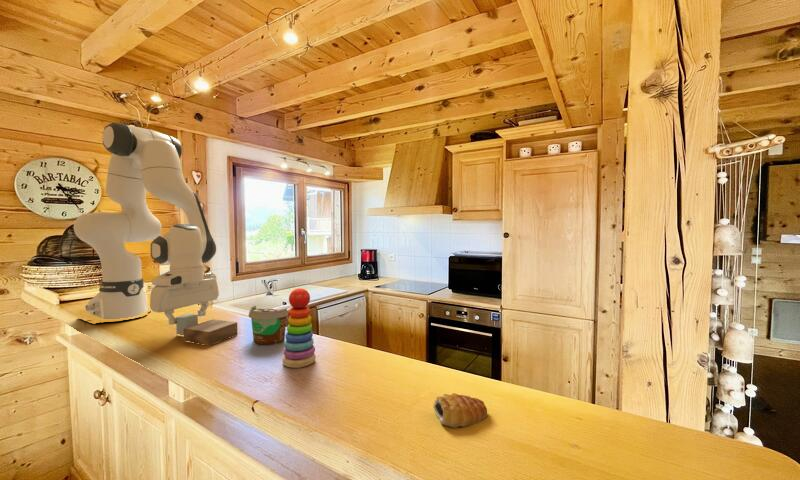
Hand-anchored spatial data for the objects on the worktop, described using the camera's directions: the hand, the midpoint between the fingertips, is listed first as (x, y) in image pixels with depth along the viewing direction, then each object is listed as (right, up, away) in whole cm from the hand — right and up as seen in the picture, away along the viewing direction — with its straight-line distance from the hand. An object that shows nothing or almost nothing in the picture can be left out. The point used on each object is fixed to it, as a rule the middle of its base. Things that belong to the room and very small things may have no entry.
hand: (188, 319), depth 100 cm
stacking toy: (+41, -6, -20) cm, 46 cm away
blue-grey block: (0, -5, 0) cm, 5 cm away
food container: (+27, -5, -7) cm, 28 cm away
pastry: (+77, -7, -43) cm, 88 cm away
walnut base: (+9, -5, -3) cm, 11 cm away
